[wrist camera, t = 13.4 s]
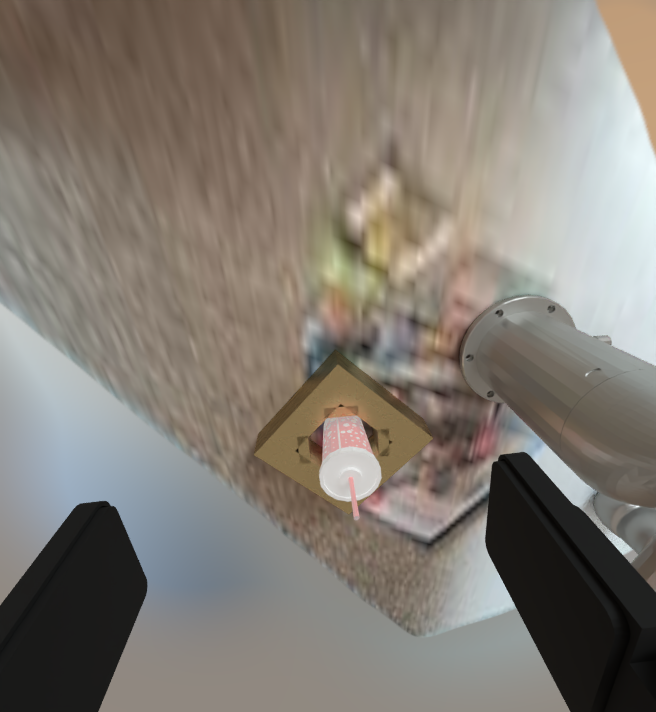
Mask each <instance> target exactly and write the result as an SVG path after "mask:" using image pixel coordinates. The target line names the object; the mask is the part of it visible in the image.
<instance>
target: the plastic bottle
mask: <svg viewBox="0 0 656 712" xmlns="http://www.w3.org/2000/svg"><path fill="white" fill-rule="evenodd" d="M594 510H595V513H596V515H597V516H598V518H599V519H600V521H601V522H602V524H603V525H604V526H606V527H607V528H608V529H609V530H610V531H611V532H613V533H614V534H615V535H617V536H618V537H619V538H621V539H622V540H623V541H624V542H625V543H627V544H628V545H629V546H630V547H631V548H632V549H633V550H634V551H635V552H636V553H637V554H638V555H639V553H640V552H641V551H642V550H643V549H644V548H645V547H646V546H647V544H648V543H649V542H650V541H651V539H652V537H653V535H654V534H655V533H656V508H648V507H642V506H636V505H631V504H627V503H624V502H620V501H617V500H614V499H611V498H609V497H607V496H605V495H603V494H601V493H599V492H598V494H597V495H596V497H595V499H594Z"/></svg>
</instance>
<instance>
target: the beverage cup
mask: <svg viewBox="0 0 656 712" xmlns="http://www.w3.org/2000/svg"><path fill="white" fill-rule="evenodd" d="M319 472H320V473H319V479H320V485H321V487H322V488H323V490H324V491H325V492H326V494H327V495H329V496H331V497H333V498H334V499H336V500H341V501H347V502H349V501H352V508H353V515H354V520H359V512H358V506H357V500H361V499H363V498H365V497H367V496H369V495H371V494H372V493H373V492H374V491H375V490H376V489H377V488H378V486H379V483H380V481H381V478H382V477H381V467H380V465H379V462H378V461H377V459H376V458H375V456H374V455H373V452H372V449H371V447H370V444H369V441H368V438H367V435H366V432H365V430H364V427H363V424H362V421H361V419H360V418H359V417H358V416H346V417H335V418H327V419H326V420H325V423H324V430H323V453H322V464H321V467H320V470H319Z"/></svg>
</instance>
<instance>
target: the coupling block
mask: <svg viewBox="0 0 656 712" xmlns="http://www.w3.org/2000/svg"><path fill="white" fill-rule="evenodd" d="M346 416H358V417H359V418H361V419H362V420H363V421H365V422H366V423H367V424H369V425H370V426H371V427H373V435H372V436H371V437H370V438H369V439H368V441H369V444H370V447H371V449H372V452H373V455H374V456H375V458H376V459H377V461H378V462H379V465H380V467H381V477H382V478H381V481H380V483H379V486H378V488H379V487H380V486H381V485H382V484H383V483H384V482H386V481H387V480H388V479H389V478H390V477H391V476H392V475H393V474H394V473H395V472H397V471H398V470H399V469H400V468H401V467H402V466H403V465H404V464H405V463H407V462H408V461H409V460H410V459H411V458H412V457H413V456H414V455H415V454H417V453H418V452H419V451H420V450H421V449H422V448H423V447H424V446H425V445H426V444H428V443H429V442H430V441H431V440H432V439H433V437H432V435H431V433H430V431H429V429H428V427H427V425H426V423H425V421H424V420H423V418H422V417H420V416H419V415H418V414H416V413H415V412H414V411H413V410H411V409H410V408H409V407H408V406H406V405H405V404H404V403H402V402H401V401H400V400H399V399H397V398H396V397H395V396H394V395H392V394H391V393H390V392H389V391H387V390H386V389H385V388H383V387H382V386H381V385H380V384H378V383H377V382H376V381H375V380H373V379H372V378H371V377H369V376H368V375H367V374H366V373H364V372H363V371H362V370H361V369H359V368H358V367H357V366H355V365H354V364H353V363H352V362H350V361H349V360H348V359H347V358H345V357H344V356H343V355H342V354H340V353H339V352H338V351H336V350H335V351H334V352H333V353H332V354H331V355H330V356H329V357H328V358H327V359H326V360H325V361H324V363H323V364H322V365H321V366H320V367H319V368H318V369H317V370H316V371H315V372H314V374H313V375H312V376H311V377H310V378H309V379H308V380H307V381H306V382H305V383H304V384H303V386H302V387H301V388H300V389H299V390H298V391H297V392H296V393H295V394H294V395H293V397H292V398H291V399H290V400H289V401H288V402H287V403H286V404H285V405H284V406H283V408H282V409H281V410H280V411H279V412H278V413H277V414H276V415H275V416H274V417H273V418H272V420H271V421H270V422H269V423H268V424H267V425H266V426H265V427H264V428H263V429H262V431H261V432H260V433H259V434H258V438H257V443H256V447H255V452H254V455H255V456H256V457H258V458H260V459H261V460H263V461H264V462H266V463H268V464H269V465H271V466H272V467H274V468H276V469H277V470H279V471H280V472H282V473H284V474H285V475H287V476H288V477H290V478H291V479H293V480H295V481H296V482H298V483H299V484H301V485H303V486H304V487H306V488H307V489H309V490H311V491H312V492H314V493H315V494H317V495H319V496H320V497H322V498H323V499H325V500H326V501H328V502H330V503H331V504H333V505H334V506H336V507H338V508H339V509H341V510H342V511H344V512H346V513H347V514H350V513H351V512H352V511H353V508H352V501H349V502H347V501H341V500H336V499H334V498H333V497H331V496H329V495H327V494H326V492H325V491H324V490H323V488H322V487H321V485H320V479H319V473H320V472H319V470H320V467H321V464H322V453H323V448H322V447H320V446H319V445H317V444H316V443H314V442H313V441H311V438H310V435H311V434H312V433H313V432H314V431H315V430H316V429H317V428H318V427H319V426H320V425H321V424H322V423H323V422H324V421H325V420H326V419H327V418H335V417H346ZM378 488H377V489H378ZM377 489H376V490H377ZM376 490H375V491H376ZM369 496H370V495H369ZM369 496H367V497H365V498H363V499H361V500H357V506H359V505H360V504H361V503H362V502H363V501H364V500H366V499H367V498H368V497H369Z"/></svg>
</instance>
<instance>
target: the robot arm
mask: <svg viewBox="0 0 656 712" xmlns="http://www.w3.org/2000/svg"><path fill="white" fill-rule="evenodd" d="M496 311H497V312H496ZM495 312H496V313H495ZM467 355H468V356H467ZM466 356H467V357H466ZM459 361H460V369H461V372H462V375H463V377H464V379H465V381H466V382H467V384H468V385H469V386H470V387H471V388H472V390H473V391H475V392H476V393H477V394H478V395H479V396H481V397H483V398H485V399H486V400H489V401H493V402H496V403H506V404H507V405H508V406H509V407H510V408H511V409H512V410H513V411H514V412H515V413H516V414H517V415H518V416H519V417H520V418H521V419H522V420H523V421H524V422H525V423H526V424H527V425H528V426H529V427H530V428H531V429H532V430H533V431H534V432H535V433H536V434H537V435H538V436H539V437H540V438H541V439H542V440H543V441H544V443H545V444H546V445H547V446H548V447H549V448H550V449H551V450H552V451H553V452H554V453H555V454H556V455H557V456H558V457H559V458H560V459H561V460H562V461H563V462H564V463H565V464H566V465H567V466H568V467H569V468H570V469H571V470H572V471H573V472H574V473H575V474H576V475H577V476H578V477H579V478H580V479H581V480H583V481H584V482H585V483H586V484H587V485H589V486H590V487H591V488H593V489H594V490H596V491H597V492H599V493H601V494H603V495H605V496H607V497H609V498H611V499H614V500H617V501H620V502H624V503H627V504H631V505H636V506H642V507H648V508H656V366H654V365H652V364H650V363H648V362H646V361H644V360H641V359H639V358H637V357H635V356H633V355H631V354H629V353H626V352H624V351H622V350H620V349H618V348H616V347H614V346H611V338H610V337H609V336H608V335H602V336H593V337H592V336H590V335H588V334H586V333H584V332H581V331H579V330H577V329H576V327H575V324H574V322H573V319H572V317H571V316H570V314H569V313H568V312H567V311H566V309H565V308H563V307H562V306H561V305H559V304H558V303H556V302H554V301H552V300H550V299H547V298H544V297H541V296H536V295H518V296H514V297H510V298H506V299H504V300H502V301H500V302H497V303H495V304H494V305H492V306H491V307H489V308H488V309H486V310H485V311H484V312H483V313H482V314H480V315H479V316H478V317H477V318H476V319H475V321H474V322H473V323H472V325H471V326H470V327H469V329H468V331H467V332H466V334H465V336H464V338H463V341H462V345H461V348H460V356H459ZM485 542H486V548H487V551H488V554H489V556H490V558H491V560H492V562H493V564H494V565H495V567H496V569H497V571H498V573H499V575H500V577H501V579H502V581H503V583H504V585H505V587H506V589H507V591H508V592H509V594H510V596H511V598H512V600H513V602H514V604H515V606H516V608H517V610H518V612H519V614H520V616H521V617H522V619H523V621H524V623H525V625H526V627H527V629H528V631H529V633H530V635H531V637H532V639H533V641H534V643H535V644H536V646H537V648H538V650H539V652H540V654H541V656H542V658H543V660H544V662H545V664H546V666H547V668H548V669H549V671H550V673H551V675H552V677H553V679H554V681H555V683H556V685H557V687H558V689H559V691H560V693H561V695H562V696H563V698H564V700H565V702H566V704H567V706H568V708H569V710H570V712H656V533H655V534H654V535H653V537H652V539H651V541H650V542H649V543H648V544H647V546H646V547H645V548H644V549H643V550H642V551H641V552H640V553H639V555H638V556H637V557H636V558H635V559H634V560H633V561H632V562H631V564H630V563H629V562H628V560H627V559H626V558H625V557H624V556H623V555H622V554H621V553H620V552H619V550H618V549H617V548H616V547H615V546H614V545H613V544H612V543H611V542H610V540H609V539H608V538H607V537H606V536H605V535H604V534H603V533H602V532H601V530H600V529H599V528H598V527H597V526H596V525H595V524H594V523H593V522H592V520H591V519H590V518H589V517H588V516H587V515H586V514H585V513H584V512H583V511H582V510H581V509H580V508H579V507H577V506H575V505H573V504H572V503H571V502H570V501H569V500H568V499H567V498H566V496H565V495H564V494H563V493H562V492H561V491H560V490H559V488H558V487H557V486H556V485H555V484H554V483H553V482H552V481H551V479H550V478H549V477H548V476H547V475H546V474H545V473H544V471H543V470H542V469H541V468H540V467H539V466H538V465H537V464H536V462H535V461H534V460H533V459H532V458H531V457H530V456H529V455H528V454H527V453H525V452H520V453H512V454H503V455H500V456H499V458H498V461H496V462H493V464H492V472H491V483H490V493H489V504H488V515H487V526H486V536H485ZM146 593H147V579H146V576H145V574H144V572H143V570H142V567H141V565H140V562H139V560H138V558H137V556H136V553H135V551H134V548H133V546H132V544H131V541H130V539H129V537H128V534H127V532H126V530H125V527H124V525H123V523H122V520H121V518H120V516H119V513H118V511H117V509H116V508H115V507H114V506H110V504H109V503H108V502H107V501H99V502H91V503H83V504H79V505H77V506H76V507H75V508H74V509H73V511H72V512H71V513H70V515H69V516H68V517H67V519H66V520H65V521H64V522H63V524H62V525H61V527H60V528H59V529H58V530H57V532H56V533H55V534H54V536H53V537H52V538H51V540H50V541H49V542H48V544H47V545H46V546H45V547H44V549H43V550H42V551H41V553H40V554H39V555H38V557H37V558H36V559H35V561H34V562H33V563H32V565H31V566H30V567H29V569H28V570H27V571H26V572H25V574H24V575H23V576H22V578H21V579H20V580H19V582H18V583H17V584H16V585H15V587H14V588H13V589H12V591H11V592H10V594H9V595H8V596H7V597H6V599H5V600H4V601H3V603H2V604H1V605H0V712H98V711H99V708H100V706H101V704H102V701H103V699H104V696H105V694H106V691H107V689H108V687H109V684H110V682H111V679H112V677H113V674H114V672H115V669H116V667H117V664H118V662H119V660H120V657H121V655H122V652H123V650H124V648H125V645H126V642H127V640H128V638H129V635H130V633H131V631H132V628H133V626H134V623H135V621H136V618H137V616H138V613H139V611H140V608H141V606H142V604H143V601H144V599H145V596H146Z"/></svg>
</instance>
